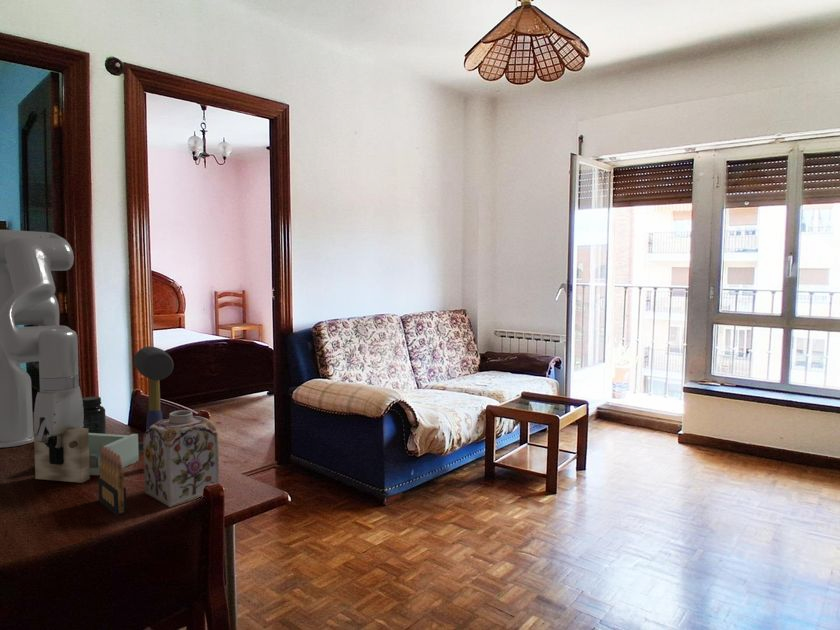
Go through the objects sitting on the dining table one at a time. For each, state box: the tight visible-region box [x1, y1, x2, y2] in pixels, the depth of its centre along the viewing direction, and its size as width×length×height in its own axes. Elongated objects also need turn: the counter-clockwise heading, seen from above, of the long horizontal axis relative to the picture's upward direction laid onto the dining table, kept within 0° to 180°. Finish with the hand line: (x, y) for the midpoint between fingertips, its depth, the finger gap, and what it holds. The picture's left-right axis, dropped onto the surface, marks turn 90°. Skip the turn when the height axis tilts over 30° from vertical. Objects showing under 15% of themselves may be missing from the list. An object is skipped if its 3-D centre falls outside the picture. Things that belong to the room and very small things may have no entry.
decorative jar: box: [142, 409, 220, 508], centre depth 121 cm, size 12×12×18 cm
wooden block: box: [33, 427, 91, 484], centre depth 128 cm, size 12×3×12 cm, turn 81°
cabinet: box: [88, 433, 140, 476], centre depth 138 cm, size 17×11×7 cm, turn 81°
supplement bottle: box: [82, 396, 107, 434], centre depth 159 cm, size 7×7×12 cm
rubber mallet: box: [133, 346, 174, 432], centre depth 136 cm, size 12×8×30 cm, turn 37°
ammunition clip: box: [97, 445, 128, 516], centre depth 114 cm, size 11×2×12 cm, turn 47°
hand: (62, 461), depth 128 cm, fingers closed on wooden block, 2 cm apart
